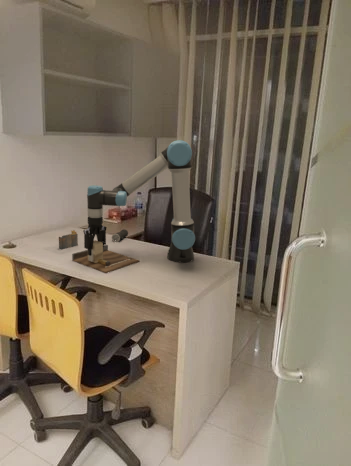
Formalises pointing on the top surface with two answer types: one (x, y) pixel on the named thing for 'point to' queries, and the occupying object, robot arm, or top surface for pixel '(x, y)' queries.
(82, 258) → the board
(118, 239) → the flashlight
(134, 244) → the top surface
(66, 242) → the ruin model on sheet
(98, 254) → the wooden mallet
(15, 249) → the top surface
